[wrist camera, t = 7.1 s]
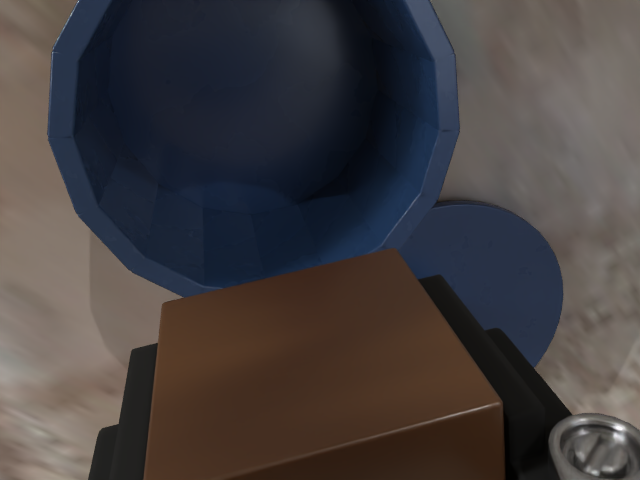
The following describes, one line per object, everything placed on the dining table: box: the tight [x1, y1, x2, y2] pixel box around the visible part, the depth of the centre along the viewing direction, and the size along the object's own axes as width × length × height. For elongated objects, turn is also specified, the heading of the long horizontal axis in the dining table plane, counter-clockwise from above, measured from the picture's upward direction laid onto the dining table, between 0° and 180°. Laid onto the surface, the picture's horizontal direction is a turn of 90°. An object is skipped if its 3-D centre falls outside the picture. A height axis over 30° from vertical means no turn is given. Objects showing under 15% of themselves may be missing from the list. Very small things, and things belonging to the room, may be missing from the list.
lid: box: [398, 201, 563, 368], centre depth 32 cm, size 15×15×7 cm
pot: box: [47, 0, 460, 298], centre depth 24 cm, size 14×19×8 cm
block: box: [143, 248, 506, 480], centre depth 10 cm, size 4×4×4 cm
